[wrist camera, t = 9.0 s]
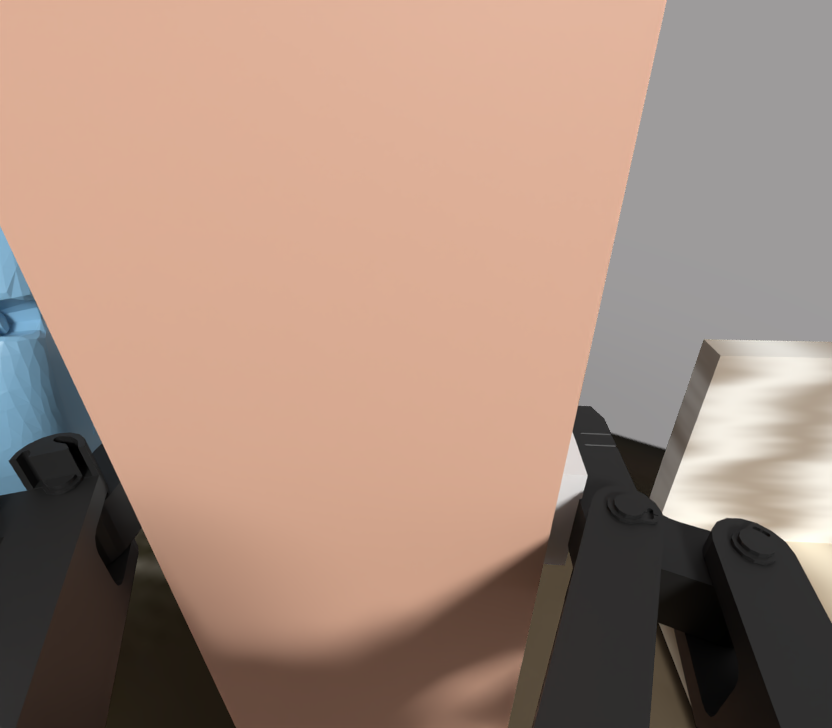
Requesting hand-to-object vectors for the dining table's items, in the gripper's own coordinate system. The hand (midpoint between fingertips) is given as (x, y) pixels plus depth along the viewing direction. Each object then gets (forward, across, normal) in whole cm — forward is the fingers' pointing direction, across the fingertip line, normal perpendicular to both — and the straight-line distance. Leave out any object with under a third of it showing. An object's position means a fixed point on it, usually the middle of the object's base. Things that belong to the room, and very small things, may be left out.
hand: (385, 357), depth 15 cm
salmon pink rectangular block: (-5, 0, -11) cm, 12 cm away
